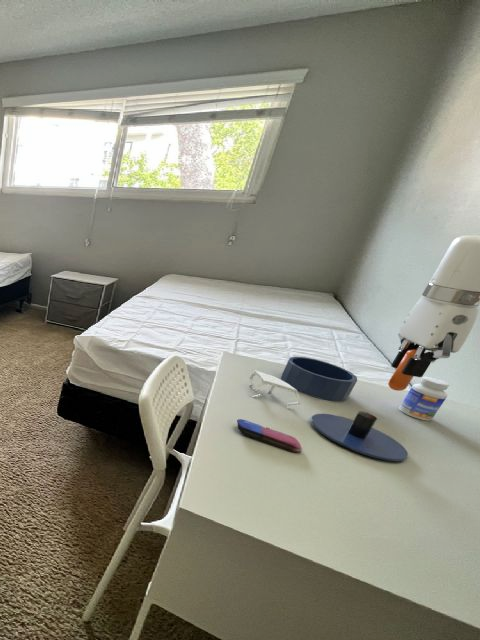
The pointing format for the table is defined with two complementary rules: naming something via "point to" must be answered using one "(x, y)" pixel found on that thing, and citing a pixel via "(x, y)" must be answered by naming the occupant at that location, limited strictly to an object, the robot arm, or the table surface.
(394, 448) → the pot lid
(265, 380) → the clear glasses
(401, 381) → the carrot
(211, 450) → the table surface
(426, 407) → the pill bottle
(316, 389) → the pot
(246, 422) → the eraser
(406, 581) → the table surface
